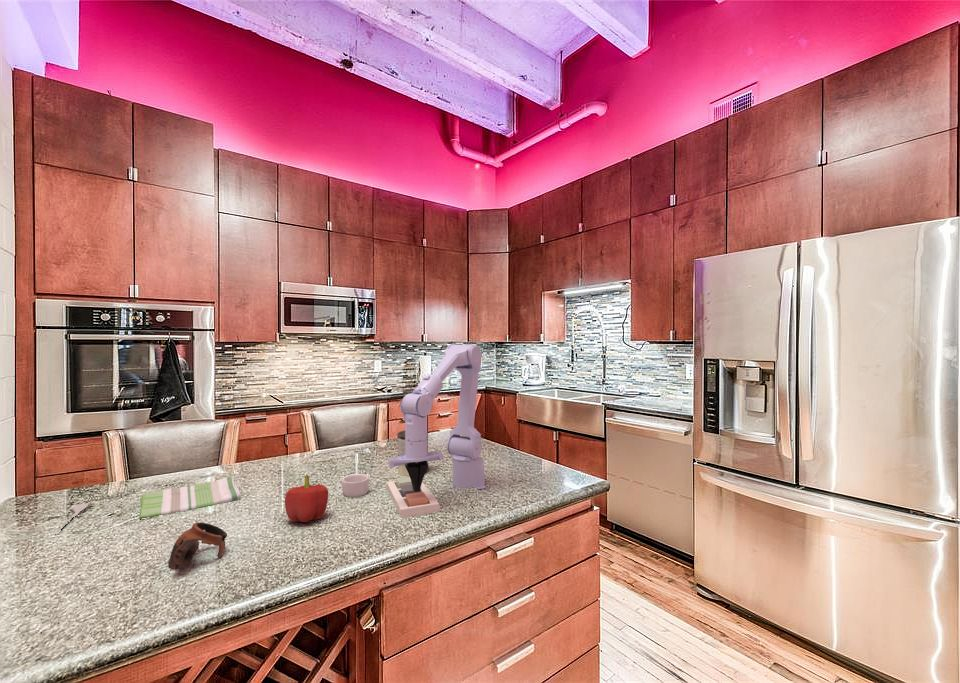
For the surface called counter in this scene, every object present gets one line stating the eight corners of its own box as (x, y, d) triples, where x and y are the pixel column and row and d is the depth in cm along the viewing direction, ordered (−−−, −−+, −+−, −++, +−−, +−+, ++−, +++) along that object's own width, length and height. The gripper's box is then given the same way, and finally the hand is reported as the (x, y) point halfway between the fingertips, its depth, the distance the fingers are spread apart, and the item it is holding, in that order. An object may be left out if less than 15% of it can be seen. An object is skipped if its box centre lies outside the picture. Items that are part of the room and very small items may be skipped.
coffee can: (411, 467, 152) (411, 428, 151) (434, 472, 146) (434, 431, 146) (390, 476, 143) (390, 433, 143) (414, 481, 137) (414, 437, 137)
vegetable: (285, 513, 113) (285, 476, 113) (327, 507, 117) (326, 471, 117) (284, 531, 103) (283, 489, 103) (329, 523, 107) (329, 483, 107)
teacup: (370, 499, 123) (370, 480, 123) (342, 503, 120) (342, 484, 120) (366, 487, 132) (365, 470, 132) (339, 491, 129) (339, 473, 129)
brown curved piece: (175, 554, 93) (198, 517, 96) (217, 571, 94) (238, 533, 97) (147, 569, 82) (173, 526, 84) (194, 588, 83) (219, 544, 85)
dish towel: (241, 501, 123) (241, 489, 123) (139, 523, 109) (138, 509, 109) (233, 485, 137) (233, 474, 137) (141, 502, 123) (141, 489, 123)
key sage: (412, 484, 130) (411, 476, 130) (415, 489, 125) (415, 481, 125) (396, 486, 128) (396, 478, 128) (399, 491, 123) (399, 483, 123)
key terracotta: (423, 500, 117) (423, 491, 117) (427, 507, 112) (427, 498, 112) (405, 503, 115) (405, 494, 115) (409, 510, 110) (409, 500, 110)
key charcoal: (417, 492, 123) (417, 483, 123) (421, 498, 119) (421, 489, 119) (400, 494, 121) (400, 485, 121) (404, 500, 117) (404, 491, 117)
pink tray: (419, 487, 132) (419, 477, 132) (439, 515, 112) (439, 503, 112) (386, 491, 128) (386, 481, 128) (400, 521, 108) (400, 509, 108)
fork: (43, 547, 101) (41, 536, 101) (85, 505, 120) (84, 496, 120) (58, 545, 102) (57, 534, 102) (98, 504, 121) (97, 494, 121)
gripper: (436, 433, 120) (436, 481, 120) (385, 439, 113) (385, 490, 114) (446, 438, 114) (446, 489, 114) (392, 445, 107) (392, 499, 107)
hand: (416, 490), depth 113 cm, fingers closed
